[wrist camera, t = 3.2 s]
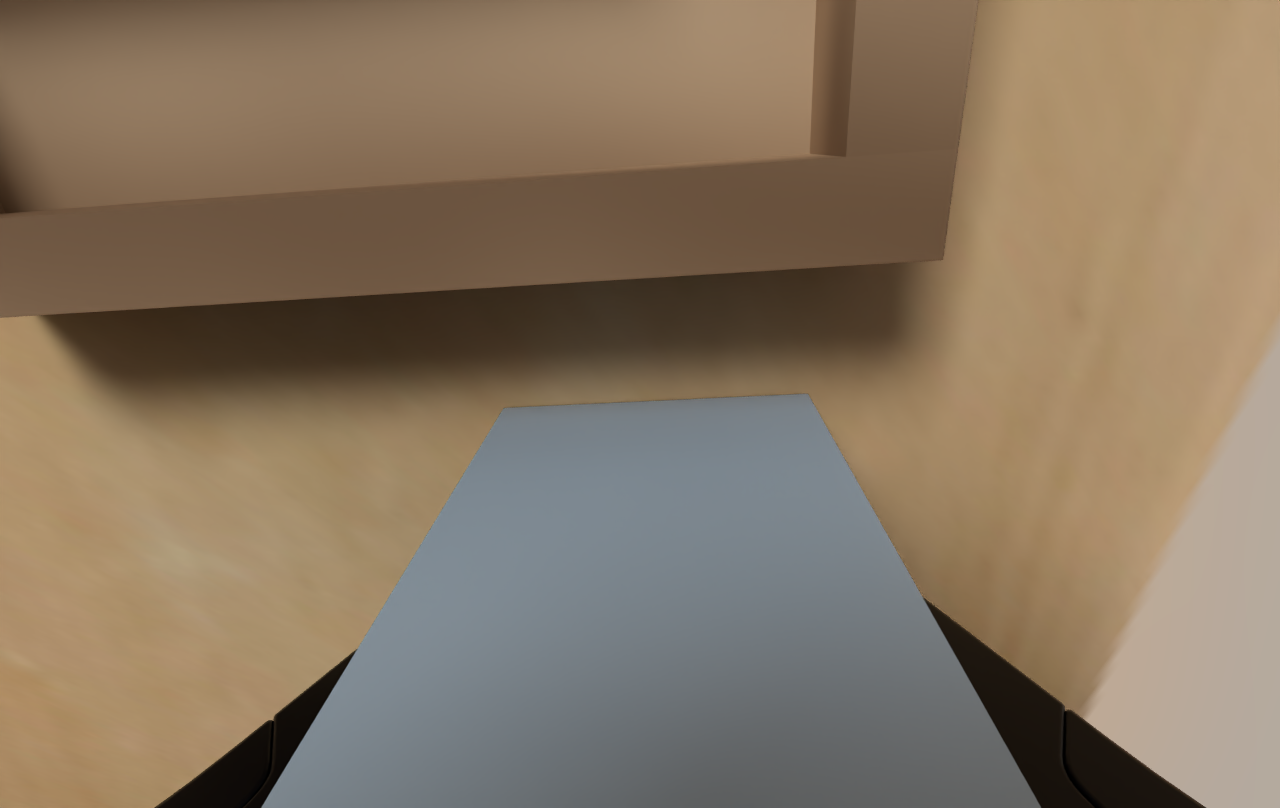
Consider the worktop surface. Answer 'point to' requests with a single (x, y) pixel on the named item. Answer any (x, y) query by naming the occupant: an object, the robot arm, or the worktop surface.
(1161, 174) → the worktop surface
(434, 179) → the walnut box
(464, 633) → the block
